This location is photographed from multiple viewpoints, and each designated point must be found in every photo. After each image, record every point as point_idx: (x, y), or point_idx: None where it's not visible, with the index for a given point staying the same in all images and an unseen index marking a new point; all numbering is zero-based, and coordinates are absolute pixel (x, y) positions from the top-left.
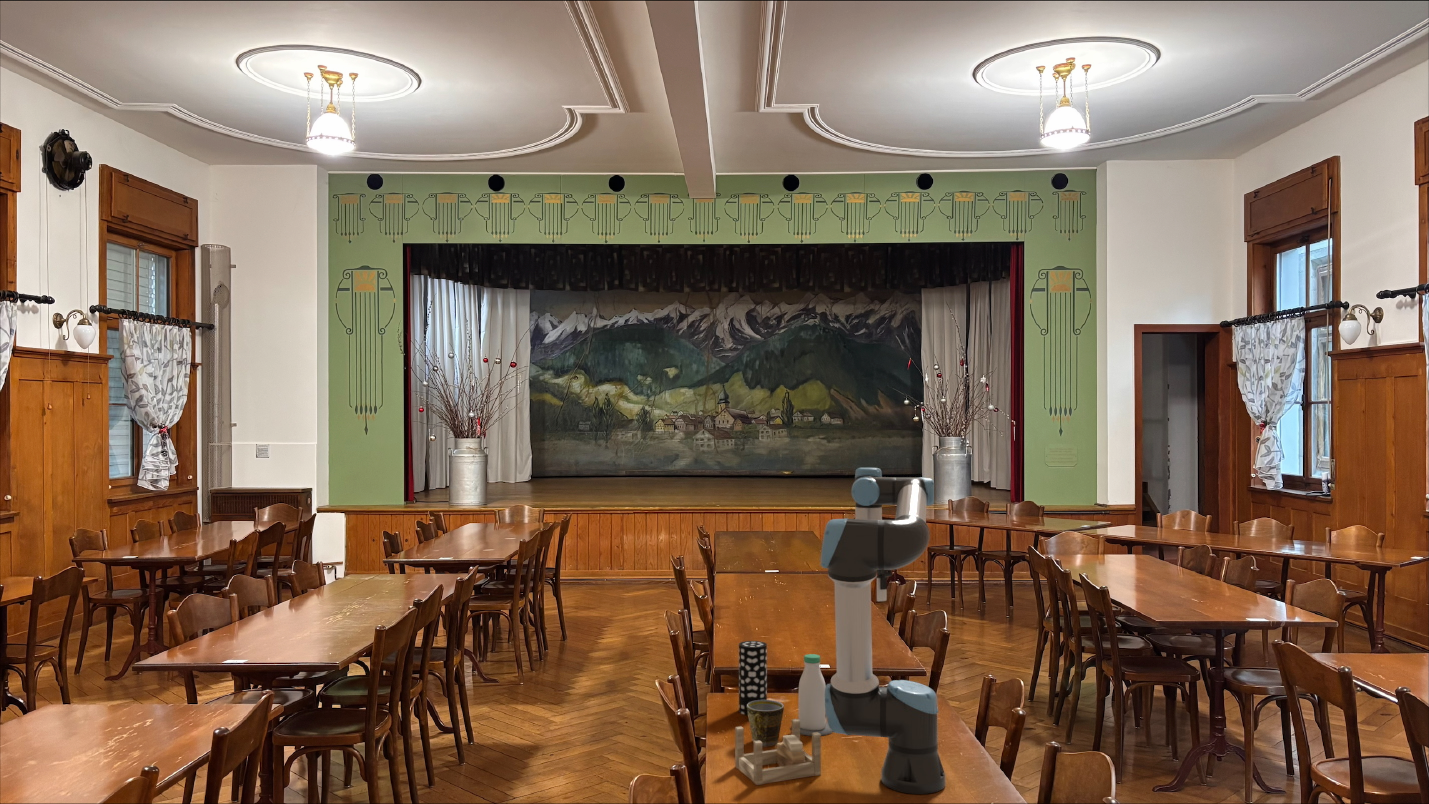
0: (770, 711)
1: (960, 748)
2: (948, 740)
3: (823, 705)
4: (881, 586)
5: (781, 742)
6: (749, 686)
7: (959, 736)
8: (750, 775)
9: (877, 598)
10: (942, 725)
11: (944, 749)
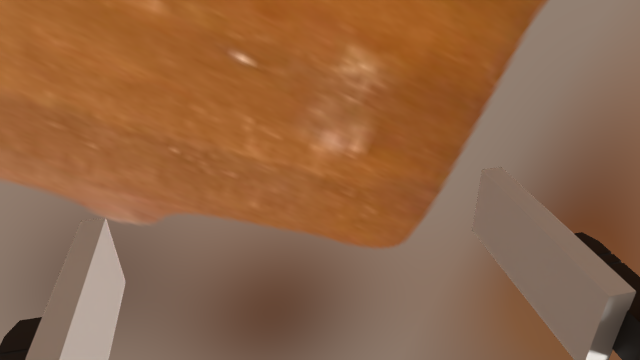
0: None
1: (21, 156)
2: (87, 156)
3: None
4: (24, 342)
5: None
6: None
7: (113, 191)
8: None
9: (88, 232)
10: (200, 190)
11: (17, 117)
